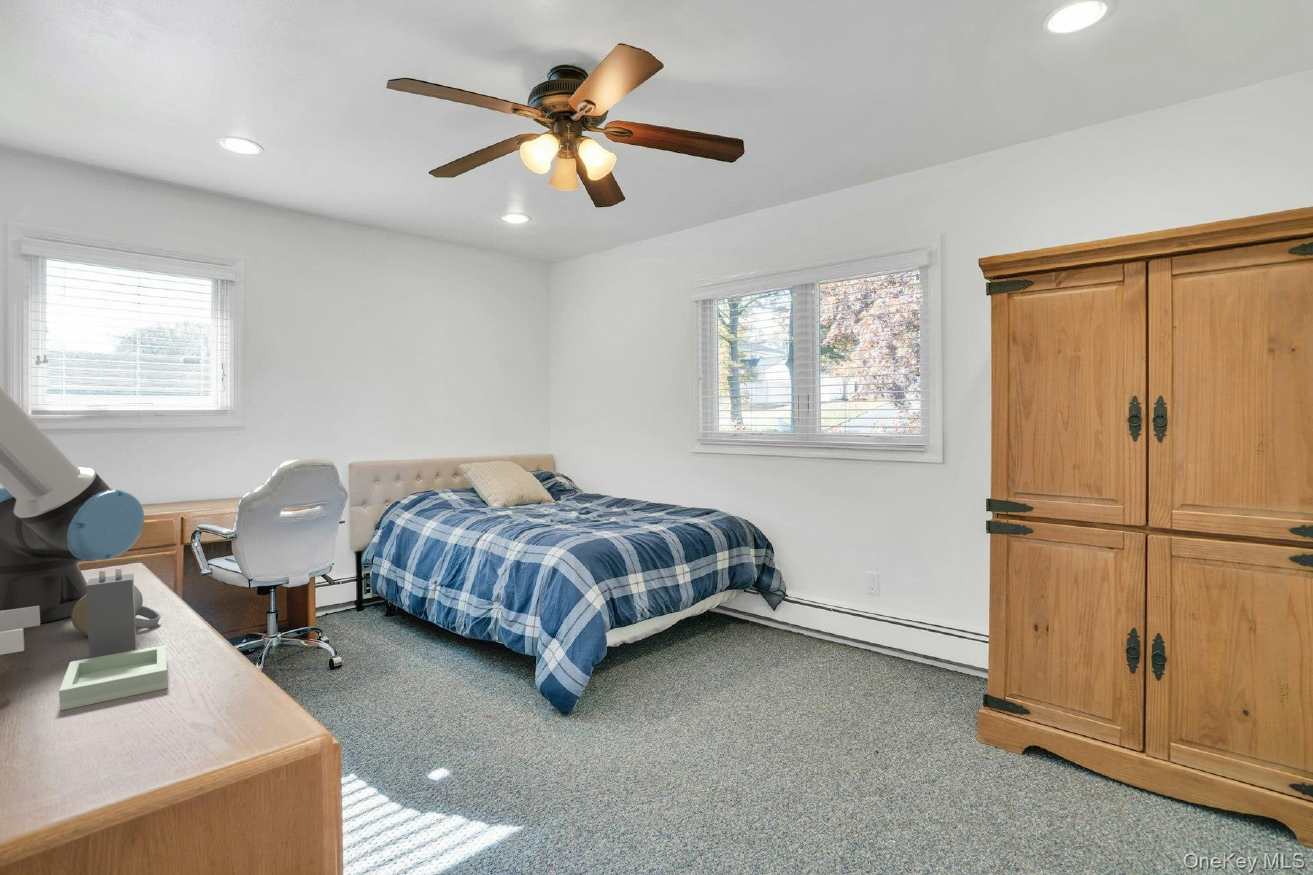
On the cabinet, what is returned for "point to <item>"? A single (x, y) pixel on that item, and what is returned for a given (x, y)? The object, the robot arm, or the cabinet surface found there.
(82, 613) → the ceramic mug
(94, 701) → the shallow pale green tray
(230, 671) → the cabinet surface
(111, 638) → the charger brick
